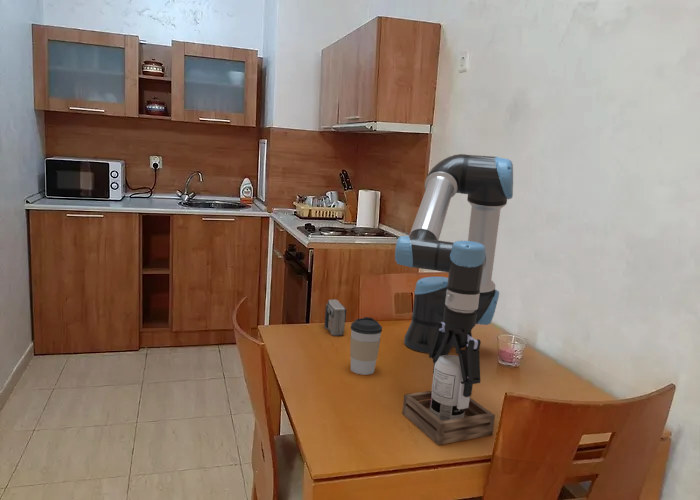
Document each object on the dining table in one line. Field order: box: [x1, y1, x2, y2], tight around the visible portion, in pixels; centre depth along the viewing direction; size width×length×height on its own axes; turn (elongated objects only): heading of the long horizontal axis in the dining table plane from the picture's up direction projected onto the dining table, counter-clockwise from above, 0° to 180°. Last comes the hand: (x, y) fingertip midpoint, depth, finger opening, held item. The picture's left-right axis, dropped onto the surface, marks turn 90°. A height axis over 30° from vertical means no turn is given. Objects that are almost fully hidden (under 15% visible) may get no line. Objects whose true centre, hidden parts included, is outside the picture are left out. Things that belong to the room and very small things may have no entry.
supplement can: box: [430, 354, 468, 421], centre depth 133 cm, size 8×8×15 cm
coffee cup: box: [349, 316, 383, 376], centre depth 161 cm, size 9×9×15 cm
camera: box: [324, 299, 347, 337], centre depth 193 cm, size 11×6×10 cm, turn 14°
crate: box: [401, 390, 496, 446], centre depth 134 cm, size 15×15×5 cm
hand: (449, 398), depth 133 cm, fingers open, 9 cm apart
